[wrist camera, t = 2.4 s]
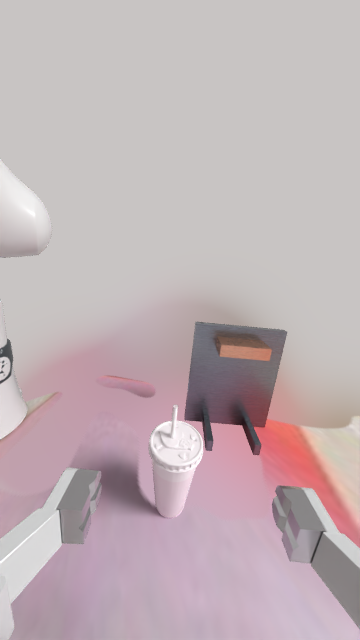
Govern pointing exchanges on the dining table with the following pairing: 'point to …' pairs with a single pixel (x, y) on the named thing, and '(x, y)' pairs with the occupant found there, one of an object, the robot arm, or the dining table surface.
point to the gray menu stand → (233, 377)
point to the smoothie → (174, 463)
